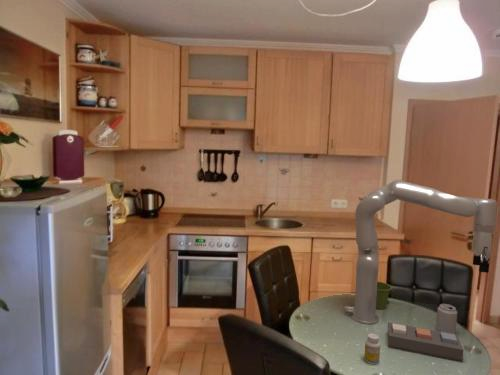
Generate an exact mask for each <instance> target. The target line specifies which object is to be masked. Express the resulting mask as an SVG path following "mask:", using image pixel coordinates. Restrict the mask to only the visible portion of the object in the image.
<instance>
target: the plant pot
mask: <svg viewBox="0 0 500 375" xmlns="http://www.w3.org/2000/svg"><path fill="white" fill-rule="evenodd" d="M392 289H393V287H392V286H391V285H390V284H388V283H387V282H383V281H377V298H376V310H379V309H380V310H385V309H386V307H387V303H388V299H389V294H390V293H391V291H392Z"/></svg>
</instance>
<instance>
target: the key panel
mask: <svg viewBox="0 0 500 375" xmlns="http://www.w3.org/2000/svg"><path fill="white" fill-rule="evenodd" d="M393 323H394V324H396V323H395V322H388V323H387V348H389V349H395V350H399V351H404V352H408V353H414V354H419V355H424V356H429V357H432V358H433V357H435V358H438V359H444V360H449V361H453V362H458V363H463V359H464V358H463V357H464V348H463V346H462V343H461V341H460V339H459V337H458V335H457V334H456V333H455V336H456V339H457V345H456V344H451V343H446V342H442V341H441V338H440V333H441V332H440V331H437V330H433V329H428V328H426V329H427V330H430V333H431V340H429V339H424V338H419V337H416V328H418V327H416V326H411V325H406V324H405V326H406V335H403V334H397V333H392V324H393ZM398 324H399V323H398ZM399 325H401V324H399ZM421 328H422V327H421ZM422 329H424V328H422ZM444 333H445V332H444ZM450 334H451V333H450Z"/></svg>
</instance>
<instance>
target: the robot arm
mask: <svg viewBox="0 0 500 375" xmlns="http://www.w3.org/2000/svg"><path fill="white" fill-rule="evenodd" d="M396 200H398V201H402V202H406V203H409V204H414V205H418V206H422V207H426V208H429V209H433V210H437V211H440V212H444V213H447V214H452V215H456V216H460V217H462V218H463V217H464V218H471V217H473V225H472V231H473V236H472V242H471V243H472V244H471V252H472V253H473V255H472V256H473V257H472V265H473V266H479V267H478V271H479V273H486V274H487V273H489V269H490V260H491V259H490V257H491V254H492V245H493V234H495V231H496V220H497V210H498V202H497V200H495V199H493V198H483V197H482V198H481V197H480V198H479V197H478V198H476V197H468V196H459V195H453V194H449V193H446V192H443V191H441V190H438V189H436V188H434V187H430V186H424V185H420V184H417V183H413V182H408V181H405V180H402V179H396V180H393V181H391V182H390V183H388V184H386V185H384V186H381V187H380V188H377V189H375V190H373V191H371V192H369V193H368V195H367V196H366V197H364V198H363V199H362V200H360V202H358V204H357V205H356V209H355V212H354V213H355V214H354V215H355V216H354V217H355V221H354V222H355V242H356V244H357V251H358V253H357V254H358V256H357V260H356V268H355V269H356V271H355V272H356V273H355V290H354V291H355V294H354V295H355V296H354V305H352V306H349V305H344V310H345V311H346V313H350V317H351V319H352V320H354V321H356V322H357V323H360V324H366V325H373V324H377V323H378V322H379V321H380V320H379V316H378V315H377V314H376V313H377V311H376V310H377V309H376V298H377V282H379V281H378V279H379V269H380V268H379V266H380V264H379V263H380V254H379V242H378V241H379V238H378V233H377V232H376V226H375V224H376V223H375V221H376V220H375V215H376V214H377V213H378V212H379V211H381V210H383V209H384V207H385V206H387V205H389V204H391V203H393V202H395V201H396Z"/></svg>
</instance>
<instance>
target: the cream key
mask: <svg viewBox="0 0 500 375" xmlns="http://www.w3.org/2000/svg"><path fill="white" fill-rule="evenodd" d="M392 323H393V324H392V333H397V334H403V335H406V326H407V325H406V324H405V325H406V326H405V325H404V324H400V325H399V323H395V322H392ZM394 323H395V324H394Z"/></svg>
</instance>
